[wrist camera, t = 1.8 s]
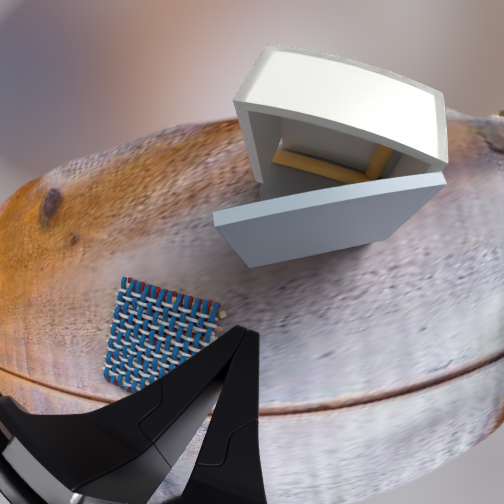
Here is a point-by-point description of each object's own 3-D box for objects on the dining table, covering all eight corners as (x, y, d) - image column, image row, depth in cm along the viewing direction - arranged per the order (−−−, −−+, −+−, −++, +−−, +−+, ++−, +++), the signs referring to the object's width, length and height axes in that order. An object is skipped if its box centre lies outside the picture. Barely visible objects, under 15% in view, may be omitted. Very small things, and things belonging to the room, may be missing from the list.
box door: (385, 239, 18) (446, 184, 9) (249, 268, 19) (214, 226, 10) (383, 231, 18) (441, 171, 9) (248, 259, 19) (212, 212, 10)
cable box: (373, 241, 22) (448, 163, 9) (261, 205, 24) (231, 100, 11) (383, 190, 22) (442, 93, 10) (279, 158, 24) (266, 44, 12)
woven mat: (108, 377, 22) (96, 381, 21) (128, 276, 24) (116, 273, 23) (204, 418, 21) (197, 426, 19) (231, 305, 23) (225, 304, 21)
